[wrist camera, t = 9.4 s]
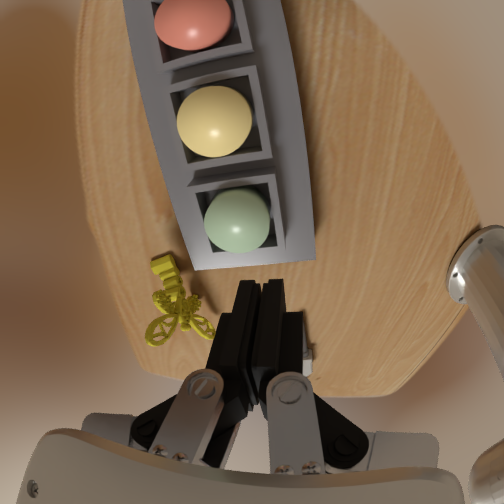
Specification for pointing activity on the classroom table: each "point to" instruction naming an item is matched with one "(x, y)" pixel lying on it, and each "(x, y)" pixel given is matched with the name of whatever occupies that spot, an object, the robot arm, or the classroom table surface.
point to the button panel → (255, 145)
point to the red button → (193, 23)
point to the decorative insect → (182, 306)
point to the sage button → (238, 219)
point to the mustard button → (215, 120)
